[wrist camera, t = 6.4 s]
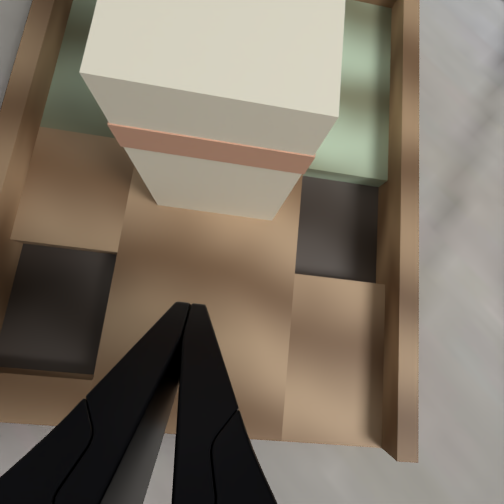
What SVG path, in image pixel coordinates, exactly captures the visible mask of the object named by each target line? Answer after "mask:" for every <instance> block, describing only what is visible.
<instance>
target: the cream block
mask: <svg viewBox="0 0 504 504" xmlns="http://www.w3.org/2000/svg"><path fill="white" fill-rule="evenodd" d="M344 17H345V0H97V2H96V7H95V11H94V15H93V19H92V23H91V27H90V31H89V35H88V39H87V43H86V47H85V51H84V55H83V59H82V63H81V67H80V71H79V73H80V74H81V76H82V78H83V79H84V81H85V83H86V85H87V86H88V88H89V90H90V91H91V93H92V95H93V96H94V98H95V100H96V101H97V103H98V105H99V107H100V108H101V110H102V112H103V113H104V115H105V117H106V118H107V120H108V123H107V125H108V127H109V128H110V130H111V132H112V133H113V135H114V137H115V138H116V140H117V141H118V143H119V145H120V146H121V147H124V149H125V151H126V152H127V154H128V156H129V157H130V159H131V161H132V162H133V164H134V166H135V167H136V169H137V171H138V172H139V174H140V176H141V178H142V179H143V181H144V183H145V184H146V186H147V188H148V189H149V191H150V193H151V194H152V196H153V198H154V200H155V201H156V203H157V205H161V206H168V207H176V208H183V209H190V210H198V211H205V212H212V213H220V214H227V215H234V216H242V217H249V218H256V219H264V220H271V221H272V220H273V218H274V217H275V215H276V214H277V212H278V210H279V209H280V207H281V206H282V204H283V203H284V201H285V200H286V198H287V197H288V195H289V193H290V192H291V190H292V189H293V187H294V186H295V184H296V183H297V181H298V179H299V178H300V176H301V175H302V174H305V172H306V171H307V169H308V168H309V166H310V165H311V163H312V162H313V160H314V159H315V155H316V152H317V150H318V148H319V147H320V145H321V144H322V142H323V141H324V139H325V138H326V136H327V135H328V133H329V131H330V130H331V128H332V127H333V125H334V124H335V122H336V121H337V119H338V117H339V104H340V86H341V69H342V52H343V34H344Z"/></svg>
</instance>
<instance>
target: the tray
mask: <svg viewBox="0 0 504 504" xmlns="http://www.w3.org/2000/svg"><path fill="white" fill-rule="evenodd" d="M96 2H97V0H33V1H32V4H31V8H30V11H29V14H28V18H27V21H26V25H25V28H24V31H23V35H22V38H21V42H20V45H19V48H18V52H17V55H16V59H15V62H14V65H13V69H12V72H11V76H10V79H9V82H8V86H7V89H6V93H5V96H4V99H3V103H2V106H1V110H0V422H5V423H20V424H34V425H49V426H57V425H58V424H59V423H60V422H61V421H62V420H63V419H64V418H65V417H66V416H67V415H68V414H69V413H70V412H71V411H72V410H73V409H74V408H75V407H76V405H77V404H78V403H79V402H80V401H81V400H82V399H84V398H85V399H86V395H87V394H88V393H89V392H90V391H91V390H92V389H93V388H94V387H95V386H96V385H97V384H98V383H99V382H100V381H101V379H102V378H103V377H104V376H105V375H106V374H107V373H108V372H109V371H110V370H111V369H112V368H113V367H114V366H115V365H116V364H117V363H118V362H119V361H120V360H121V359H122V358H123V356H124V355H125V354H126V353H127V352H128V351H129V350H130V349H131V348H132V347H133V346H134V345H135V344H136V343H137V342H138V341H139V340H140V339H141V338H142V337H143V336H144V335H145V333H146V332H147V331H148V330H149V329H150V328H151V327H152V326H153V325H154V324H155V323H156V322H157V321H158V320H159V319H160V318H161V317H162V316H163V315H164V314H165V313H166V312H167V310H168V309H169V308H170V307H171V306H172V305H173V304H174V303H175V302H188V303H190V304H192V303H197V304H205V305H206V307H207V310H208V313H209V316H210V319H211V322H212V325H213V328H214V332H215V335H216V338H217V341H218V344H219V347H220V350H221V353H222V357H223V360H224V363H225V366H226V369H227V372H228V375H229V378H230V382H231V385H232V388H233V391H234V394H235V397H236V400H237V403H238V407H239V411H240V412H241V415H242V418H243V422H244V425H245V428H246V430H247V433H248V436H249V439H257V440H272V441H287V442H302V443H317V444H332V445H347V446H362V447H376V448H382V449H383V450H385V451H386V452H387V453H388V454H389V455H390V456H392V457H393V458H394V459H395V460H396V461H399V462H414V463H418V347H419V0H345V17H344V34H343V52H342V69H341V86H340V104H339V117H338V119H337V121H336V122H335V124H334V125H333V127H332V128H331V130H330V131H329V133H328V135H327V136H326V138H325V139H324V141H323V142H322V144H321V145H320V147H319V148H318V150H317V152H316V155H315V159H314V160H313V162H312V163H311V165H310V166H309V168H308V169H307V171H306V172H305V174H302V175H301V176H300V178H299V179H298V181H297V183H296V184H295V186H294V187H293V189H292V190H291V192H290V193H289V195H288V197H287V198H286V200H285V201H284V203H283V204H282V206H281V207H280V209H279V210H278V212H277V214H276V215H275V217H274V218H273V220H272V221H271V220H264V219H256V218H249V217H242V216H234V215H227V214H220V213H212V212H205V211H198V210H190V209H183V208H176V207H168V206H161V205H157V203H156V201H155V200H154V198H153V196H152V194H151V193H150V191H149V189H148V188H147V186H146V184H145V183H144V181H143V179H142V178H141V176H140V174H139V172H138V171H137V169H136V167H135V166H134V164H133V162H132V161H131V159H130V157H129V156H128V154H127V152H126V151H125V149H124V147H121V146H120V145H119V143H118V141H117V140H116V138H115V137H114V135H113V133H112V132H111V130H110V128H109V127H108V125H107V123H108V120H107V118H106V117H105V115H104V113H103V112H102V110H101V108H100V107H99V105H98V103H97V101H96V100H95V98H94V96H93V95H92V93H91V91H90V90H89V88H88V86H87V85H86V83H85V81H84V79H83V78H82V76H81V74H80V73H79V71H80V67H81V63H82V59H83V55H84V51H85V47H86V43H87V39H88V35H89V31H90V27H91V23H92V19H93V15H94V11H95V7H96ZM178 393H179V386H178V389H177V393H176V396H175V399H174V403H173V406H172V409H171V412H170V416H169V419H168V422H167V426H166V429H165V432H164V433H168V434H176V425H177V409H178Z"/></svg>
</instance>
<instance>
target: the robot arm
mask: <svg viewBox="0 0 504 504" xmlns="http://www.w3.org/2000/svg"><path fill="white" fill-rule="evenodd" d="M178 386H179V393H178V409H177V425H176V441H175V457H174V473H173V489H172V504H277V502H276V500H275V497H274V495H273V493H272V491H271V489H270V486H269V484H268V482H267V480H266V478H265V476H264V473H263V471H262V469H261V466H260V464H259V462H258V459H257V457H256V454H255V452H254V450H253V447H252V444H251V442H250V439H249V436H248V433H247V430H246V428H245V425H244V422H243V418H242V415H241V412H240V411H239V407H238V403H237V400H236V397H235V394H234V391H233V388H232V385H231V382H230V378H229V375H228V372H227V369H226V366H225V363H224V360H223V357H222V353H221V350H220V347H219V344H218V341H217V338H216V335H215V332H214V328H213V325H212V322H211V319H210V316H209V313H208V310H207V307H206V305H205V304H197V303H192V304H190V303H188V302H175V303H174V304H173V305H172V306H171V307H170V308H169V309H168V310H167V312H166V313H165V314H164V315H163V316H162V317H161V318H160V319H159V320H158V321H157V322H156V323H155V324H154V325H153V326H152V327H151V328H150V329H149V330H148V331H147V332H146V333H145V335H144V336H143V337H142V338H141V339H140V340H139V341H138V342H137V343H136V344H135V345H134V346H133V347H132V348H131V349H130V350H129V351H128V352H127V353H126V354H125V355H124V356H123V358H122V359H121V360H120V361H119V362H118V363H117V364H116V365H115V366H114V367H113V368H112V369H111V370H110V371H109V372H108V373H107V374H106V375H105V376H104V377H103V378H102V379H101V381H100V382H99V383H98V384H97V385H96V386H95V387H94V388H93V389H92V390H91V391H90V392H89V393H88V394H87V395H86V399H85V398H84V399H82V400H81V401H80V402H79V403H78V404H77V405H76V407H75V408H74V409H73V410H72V411H71V412H70V413H69V414H68V415H67V416H66V417H65V418H64V419H63V420H62V421H61V422H60V423H59V424H58V425H57V426H56V427H55V428H54V429H53V430H52V431H51V432H50V433H49V434H48V435H47V436H46V437H45V438H43V439H42V440H41V441H40V442H39V443H38V444H37V445H36V446H35V447H34V448H32V449H31V450H30V451H29V452H28V453H27V454H26V455H25V456H24V457H23V458H22V459H20V460H19V461H18V462H17V463H16V464H15V465H14V466H12V467H11V468H10V469H9V470H8V471H7V472H6V473H5V474H3V475H2V476H1V477H0V504H143V501H144V498H145V495H146V492H147V488H148V485H149V482H150V478H151V475H152V472H153V469H154V465H155V462H156V459H157V455H158V452H159V449H160V445H161V442H162V439H163V436H164V432H165V429H166V426H167V422H168V419H169V416H170V412H171V409H172V406H173V403H174V399H175V396H176V393H177V389H178Z"/></svg>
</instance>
